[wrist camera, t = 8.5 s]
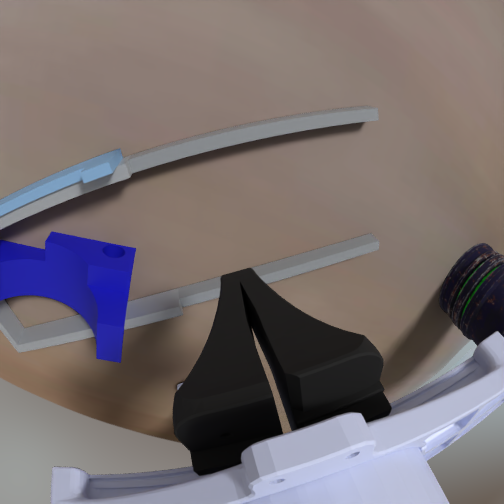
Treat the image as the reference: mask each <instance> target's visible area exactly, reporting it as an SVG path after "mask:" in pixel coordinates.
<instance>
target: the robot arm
mask: <svg viewBox="0 0 504 504" xmlns="http://www.w3.org/2000/svg"><path fill="white" fill-rule="evenodd" d="M220 281H221V286H220V296H219V301H218V307H217V311H216V315H215V319H214V322H213V326H212V329H211V332H210V334H209V337H208V340H207V342H206V344H205V346H204V349H203V351H202V353H201V355H200V357H199V359H198V361H197V362H196V364H195V366H194V367H193V369H192V371H191V372H190V374H189V375H188V377H187V378H186V380H185V381H184V382H183V383H180V384H178V385H177V390H178V391H177V392H176V393H175V397H174V403H173V426H174V434H175V436H176V437H177V439H178V440H179V441H180V442H181V443H182V444H183V445H184V446H185V447H186V448H187V449H188V450H190V453H191V459H192V465H193V466H191V467H184V468H178V469H170V470H162V471H153V472H142V473H129V474H110V475H109V474H108V475H89V474H88V473H86V472H85V471H83V470H81V469H79V468H75V467H53V468H52V482H51V504H449V502H448V500H447V498H446V496H445V494H444V492H443V491H442V489H441V487H440V485H439V484H438V482H437V480H436V478H435V476H434V474H433V472H432V471H431V469H430V467H429V465H428V463H427V462H426V461H427V460H429V459H430V458H432V457H433V456H435V455H436V454H438V453H439V452H441V451H442V450H443V449H445V448H446V447H448V446H449V445H451V444H452V443H453V442H455V441H456V440H457V439H459V438H460V437H461V436H463V435H464V434H465V433H467V432H468V431H469V430H471V429H472V428H473V427H474V426H476V425H477V424H478V423H479V422H481V421H482V420H483V419H484V418H486V417H487V416H488V415H489V414H490V413H492V412H493V411H494V410H495V409H496V408H498V407H499V406H500V405H501V404H502V403H503V402H504V337H503V336H502V335H501V334H500V333H499V332H498V331H496V332H495V333H493V334H492V335H490V336H489V337H488V338H486V339H485V340H483V341H482V342H481V343H480V344H479V345H478V346H477V348H476V349H475V351H474V354H473V356H472V357H471V358H469V359H468V360H466V361H465V362H463V363H462V364H460V365H459V366H457V367H455V368H454V369H452V370H451V371H449V372H447V373H446V374H444V375H442V376H441V377H439V378H437V379H436V380H434V381H432V382H430V383H429V384H427V385H425V386H423V387H421V388H419V389H418V390H416V391H414V392H412V393H410V394H408V395H406V396H404V397H402V398H400V399H398V400H396V401H394V402H392V403H389V402H388V400H387V398H386V397H385V395H384V393H383V391H384V387H383V386H382V384H381V382H380V381H379V380H380V376H381V372H382V368H383V358H382V356H381V354H380V353H379V351H378V350H377V349H376V347H375V346H374V345H373V344H372V343H371V342H370V341H369V340H368V339H367V338H366V337H365V336H364V335H360V334H356V333H353V332H349V331H345V330H342V329H339V328H336V327H333V326H331V325H328V324H326V323H324V322H322V321H319V320H317V319H315V318H313V317H311V316H309V315H308V314H306V313H304V312H302V311H301V310H299V309H297V308H296V307H294V306H293V305H291V304H290V303H289V302H287V301H286V300H285V299H283V298H282V297H281V296H279V295H278V294H277V293H276V292H275V291H274V290H272V289H271V288H270V287H269V286H268V285H267V284H266V283H265V282H264V281H263V280H262V279H261V278H260V277H259V276H258V275H257V274H256V272H255V271H254V270H253V269H252V268H247V269H244V270H240V271H236V272H233V273H229V274H226V275H222V277H221V278H220ZM251 326H252V327H251ZM252 329H253V331H254V333H255V335H256V338H257V340H258V342H259V344H260V347H261V349H262V351H263V353H264V355H265V357H266V360H267V362H268V364H269V366H270V369H271V371H272V374H273V377H274V380H275V383H276V386H277V389H278V392H279V395H280V398H281V400H282V403H283V406H284V409H285V412H286V415H287V418H288V421H289V424H290V427H291V430H292V431H291V432H288V433H285V434H283V432H282V427H281V423H280V420H279V416H278V412H277V408H276V405H275V401H274V397H273V394H272V391H271V388H270V385H269V382H268V379H267V376H266V374H265V371H264V368H263V366H262V363H261V360H260V357H259V355H258V352H257V349H256V346H255V341H254V336H253V331H252Z"/></svg>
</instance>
